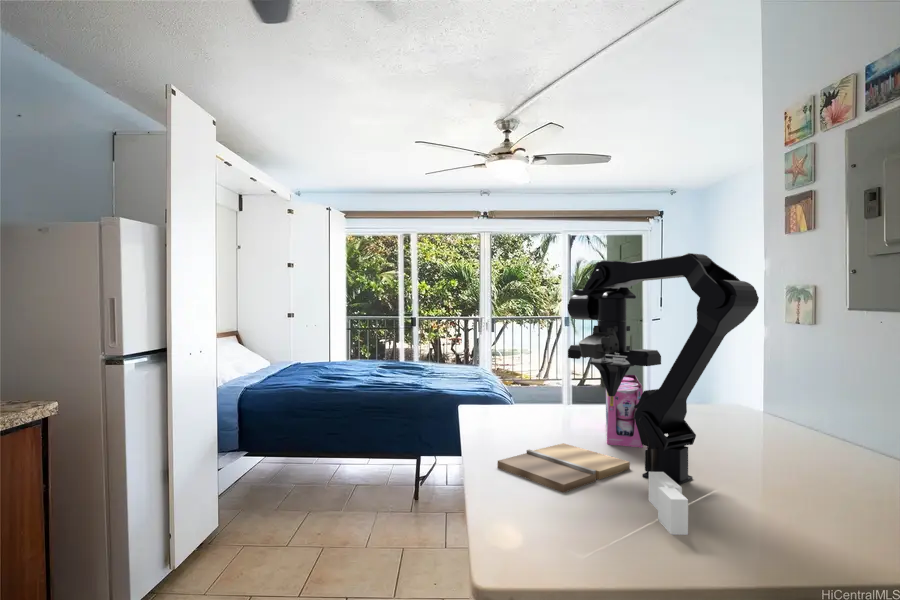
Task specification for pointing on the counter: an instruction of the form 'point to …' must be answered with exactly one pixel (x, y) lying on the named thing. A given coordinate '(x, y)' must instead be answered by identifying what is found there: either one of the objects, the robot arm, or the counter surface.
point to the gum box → (623, 413)
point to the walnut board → (548, 470)
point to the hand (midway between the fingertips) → (611, 396)
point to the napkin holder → (669, 503)
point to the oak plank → (587, 459)
